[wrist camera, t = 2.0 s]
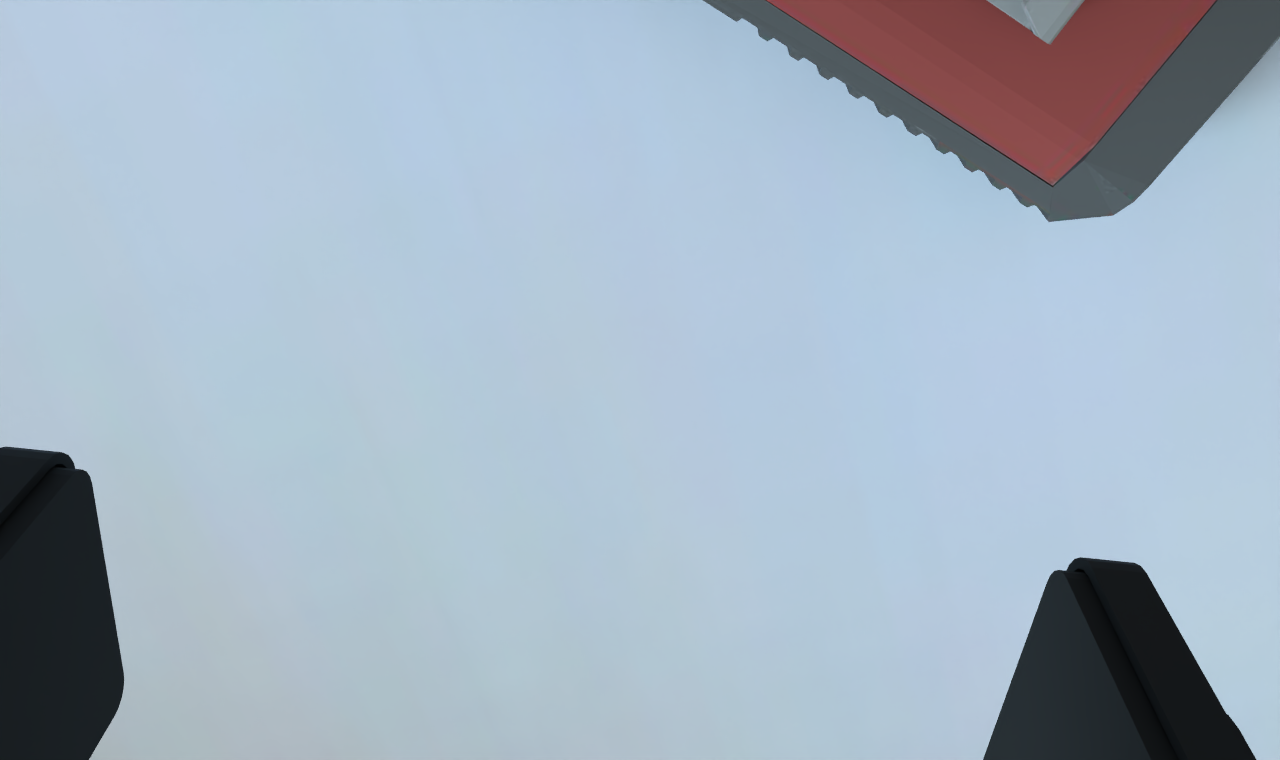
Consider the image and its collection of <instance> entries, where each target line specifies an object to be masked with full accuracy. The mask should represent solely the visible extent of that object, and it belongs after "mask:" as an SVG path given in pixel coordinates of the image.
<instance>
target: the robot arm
mask: <svg viewBox="0 0 1280 760" xmlns="http://www.w3.org/2000/svg"><path fill="white" fill-rule="evenodd" d="M123 687H124V672H123V666H122V660H121V654H120V649H119V643H118V637H117V631H116V625H115V619H114V613H113V607H112V601H111V595H110V589H109V583H108V577H107V571H106V565H105V559H104V553H103V547H102V541H101V535H100V529H99V523H98V517H97V511H96V505H95V499H94V493H93V487H92V482H91V479H90V476H89V475H88V473H87V472H86V471H84V470H80V469H75V466H74V463H73V461H72V460H71V458H70V457H69V455H67V454H65V453H62V452H53V451H43V450H34V449H24V448H14V447H2V448H0V760H89V758H90V757H91V755H92V753H93V752H94V750H95V748H96V747H97V745H98V743H99V741H100V740H101V738H102V736H103V735H104V733H105V731H106V729H107V728H108V726H109V724H110V723H111V721H112V719H113V718H114V716H115V714H116V712H117V710H118V707H119V704H120V701H121V698H122V693H123ZM983 760H1256V758H1255V756H1254V755H1253V753H1252V751H1251V749H1250V748H1249V746H1248V744H1247V742H1246V741H1245V739H1244V737H1243V735H1242V734H1241V732H1240V730H1239V729H1238V727H1237V726H1236V725H1235V723H1234V722H1233V721H1232V719H1231V718H1230V717H1229V715H1227V714H1226V713H1225V711H1224V709H1223V707H1222V706H1221V704H1220V702H1219V700H1218V699H1217V697H1216V695H1215V693H1214V692H1213V690H1212V688H1211V686H1210V684H1209V683H1208V681H1207V679H1206V677H1205V676H1204V674H1203V672H1202V670H1201V669H1200V667H1199V665H1198V663H1197V662H1196V660H1195V658H1194V656H1193V654H1192V653H1191V651H1190V649H1189V647H1188V646H1187V644H1186V642H1185V640H1184V639H1183V637H1182V635H1181V633H1180V632H1179V630H1178V628H1177V626H1176V624H1175V623H1174V621H1173V619H1172V617H1171V616H1170V614H1169V612H1168V610H1167V609H1166V607H1165V605H1164V603H1163V602H1162V600H1161V598H1160V596H1159V594H1158V593H1157V591H1156V589H1155V587H1154V586H1153V584H1152V582H1151V580H1150V579H1149V577H1148V575H1147V573H1146V572H1145V571H1144V569H1143V568H1142V567H1141V566H1140V565H1138V564H1135V563H1129V562H1120V561H1110V560H1100V559H1091V558H1077V559H1074V560H1073V562H1072V563H1071V564H1070V565H1069V567H1068V569H1067V571H1062V570H1057V571H1054V572H1053V573H1052V574H1051V575H1050V577H1049V579H1048V582H1047V584H1046V587H1045V590H1044V592H1043V595H1042V598H1041V601H1040V604H1039V606H1038V609H1037V612H1036V615H1035V617H1034V620H1033V623H1032V626H1031V628H1030V631H1029V634H1028V637H1027V640H1026V642H1025V645H1024V648H1023V651H1022V653H1021V656H1020V659H1019V662H1018V664H1017V667H1016V670H1015V673H1014V676H1013V678H1012V681H1011V684H1010V687H1009V689H1008V692H1007V695H1006V698H1005V700H1004V703H1003V706H1002V709H1001V711H1000V714H999V717H998V720H997V723H996V725H995V728H994V731H993V734H992V736H991V739H990V742H989V745H988V747H987V750H986V753H985V756H984V759H983Z"/></svg>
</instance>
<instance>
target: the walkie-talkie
mask: <svg viewBox="0 0 1280 760" xmlns="http://www.w3.org/2000/svg"><path fill="white" fill-rule="evenodd" d="M703 1H705V2H707V3H708V4H710V5H711V6H713V7H714V8H716V9H717V10H719V11H721V12H722V13H724V14H725V15H727V16H728V17H730V18H732V19H733V20H735V21H736V22H737V21H738V20H740V19H741V18H744V19H745V20H747V21H748V22H750V23H751V24H753V25H754V26H756V27H757V28H758V33H759V36H760V37H762V38H763V39H765V40H766V41H769V40H770V39H772V38H775V39H776V40H778V41H779V42H781V43H783V44H784V45H786V46H787V48H788V52H789V55H790V56H791V57H793V58H795V59H796V60H800V59H802V58H803V57H804V58H806V59H808V60H809V61H811V62H812V63H814V64H815V65H817V68H818V71H819V74H820V75H821V76H823V77H824V78H826V79H827V80H829V79H830V78H832V77H836V78H837V79H839V80H840V81H842V82H843V83H845V84H846V87H847V89H848V91H849V94H851V95H852V96H854V97H856V98H857V99H858V98H860V97H862V96H865V97H867V98H868V99H870V100H871V101H873V102H874V103H875V106H876V108H877V110H878V112H879V113H880V114H882V115H884V116H885V117H889V116H891V115H895V116H896V117H898V118H900V119H901V120H902V121H903V123H904V125H905V127H906V129H907V131H909V132H910V133H912V134H913V135H915V136H917V135H919V134H921V133H923V134H925V135H926V136H928V137H929V138H930V139H931V141H932V143H933V144H934V146H935V148H936V149H937V150H938V151H940V152H942V153H943V154H946V153H948V152H950V151H951V152H953V153H954V154H956V155H957V156H958V158H959V159H960V161H961V162H962V164H963V166H964V167H965V168H966V169H968V170H970V171H971V172H974V171H976V170H978V169H979V170H981V171H982V172H984V173H985V175H986V176H987V178H988V179H989V181H990V182H991V184H992V185H993V186H995V187H996V188H998V189H999V190H1001V189H1003V188H1006V187H1007V188H1009V189H1010V190H1011V191H1012V192H1013V194H1014V195H1015V196H1016V198H1017V199H1018V201H1019V202H1020V203H1021V204H1023V205H1024V206H1026V207H1030V206H1032V205H1035V206H1037V207H1038V208H1039V210H1040V211H1041V212H1042V214H1043V215H1044V217H1045V218H1046V219H1047V220H1048V221H1049V222H1052V221H1062V220H1072V219H1081V218H1091V217H1101V216H1111V215H1114V214H1116V213H1117V212H1119V211H1120V210H1122V209H1123V208H1125V207H1127V206H1128V205H1130V204H1131V203H1133V202H1134V201H1135V200H1136V199H1137V198H1138V197H1139V196H1140V195H1141V194H1142V193H1143V192H1144V191H1145V190H1146V189H1147V188H1148V187H1149V186H1150V185H1151V184H1152V182H1153V181H1154V180H1155V179H1156V178H1157V177H1158V176H1159V174H1160V173H1161V172H1162V171H1163V170H1164V169H1165V168H1166V166H1167V165H1168V164H1169V163H1170V162H1171V161H1172V160H1173V158H1174V157H1175V156H1176V155H1177V154H1178V153H1179V152H1180V150H1181V149H1182V148H1183V147H1184V146H1185V145H1186V144H1187V143H1188V141H1189V140H1190V139H1191V138H1192V137H1193V136H1194V135H1195V133H1196V132H1197V131H1198V130H1199V129H1200V128H1201V127H1202V125H1203V124H1204V123H1205V122H1206V121H1207V120H1208V119H1209V117H1210V116H1211V115H1212V114H1213V113H1214V112H1215V111H1216V109H1217V108H1218V107H1219V106H1220V105H1221V104H1222V103H1223V101H1224V100H1225V99H1226V98H1227V97H1228V96H1229V95H1230V93H1231V92H1232V91H1233V90H1234V89H1235V88H1236V87H1237V86H1238V84H1239V83H1240V82H1241V81H1242V80H1243V79H1244V78H1245V76H1246V75H1247V74H1248V73H1249V72H1250V71H1251V70H1252V68H1253V67H1254V66H1255V65H1256V64H1257V63H1258V62H1259V60H1260V59H1261V58H1262V57H1263V56H1264V55H1265V54H1266V52H1267V51H1268V50H1269V49H1270V48H1271V47H1272V46H1273V44H1274V43H1275V42H1276V41H1277V40H1278V39H1279V38H1280V0H703Z"/></svg>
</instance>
